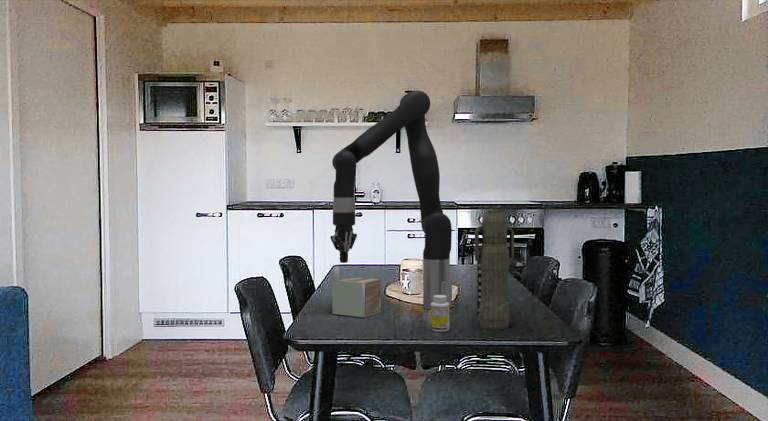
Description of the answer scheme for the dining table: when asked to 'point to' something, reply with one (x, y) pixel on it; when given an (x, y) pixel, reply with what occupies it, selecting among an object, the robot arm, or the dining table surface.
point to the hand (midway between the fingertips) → (343, 262)
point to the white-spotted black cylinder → (478, 287)
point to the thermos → (494, 269)
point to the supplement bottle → (440, 314)
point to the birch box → (370, 294)
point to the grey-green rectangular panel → (347, 296)
